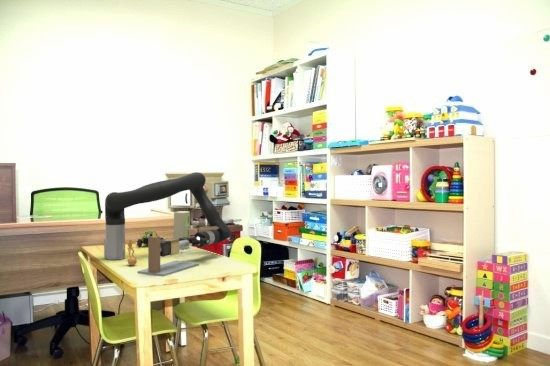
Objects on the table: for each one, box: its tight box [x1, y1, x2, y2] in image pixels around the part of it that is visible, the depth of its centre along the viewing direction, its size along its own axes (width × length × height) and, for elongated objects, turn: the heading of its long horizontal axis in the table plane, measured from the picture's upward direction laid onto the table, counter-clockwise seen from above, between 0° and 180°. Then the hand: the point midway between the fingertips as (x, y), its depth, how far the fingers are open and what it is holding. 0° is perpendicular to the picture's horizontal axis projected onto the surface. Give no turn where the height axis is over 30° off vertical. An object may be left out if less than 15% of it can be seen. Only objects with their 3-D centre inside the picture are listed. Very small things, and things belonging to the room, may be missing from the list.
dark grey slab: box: [160, 241, 171, 257], centre depth 202 cm, size 6×4×6 cm
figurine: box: [122, 239, 140, 267], centre depth 215 cm, size 8×6×12 cm
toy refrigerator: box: [173, 210, 191, 250], centre depth 264 cm, size 8×7×21 cm
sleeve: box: [160, 238, 180, 256], centre depth 208 cm, size 6×6×6 cm
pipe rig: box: [137, 235, 200, 277], centre depth 208 cm, size 14×26×16 cm, turn 156°
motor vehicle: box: [136, 230, 165, 248], centre depth 273 cm, size 12×19×11 cm, turn 0°
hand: (185, 243), depth 218 cm, fingers open, 8 cm apart
